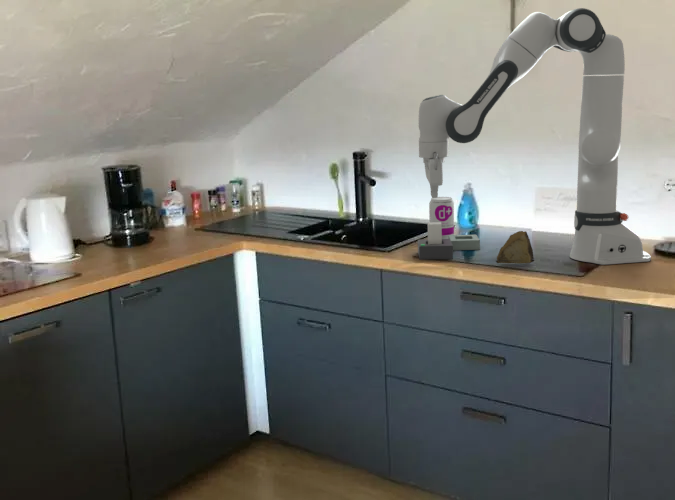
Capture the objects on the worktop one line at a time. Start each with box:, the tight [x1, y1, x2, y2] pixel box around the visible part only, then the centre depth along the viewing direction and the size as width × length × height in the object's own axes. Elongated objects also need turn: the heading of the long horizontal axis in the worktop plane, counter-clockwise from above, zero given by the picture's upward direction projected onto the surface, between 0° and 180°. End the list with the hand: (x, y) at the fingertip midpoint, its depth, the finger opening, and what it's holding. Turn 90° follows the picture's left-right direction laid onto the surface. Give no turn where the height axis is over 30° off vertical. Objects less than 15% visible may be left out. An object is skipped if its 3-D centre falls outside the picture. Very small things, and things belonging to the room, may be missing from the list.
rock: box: [496, 230, 535, 264], centre depth 213 cm, size 11×9×10 cm
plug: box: [427, 222, 442, 244], centre depth 220 cm, size 4×3×9 cm
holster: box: [448, 234, 481, 251], centre depth 231 cm, size 9×9×4 cm
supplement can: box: [428, 196, 455, 239], centre depth 243 cm, size 8×8×15 cm
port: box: [417, 238, 454, 260], centre depth 221 cm, size 10×10×5 cm
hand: (434, 197), depth 218 cm, fingers closed
